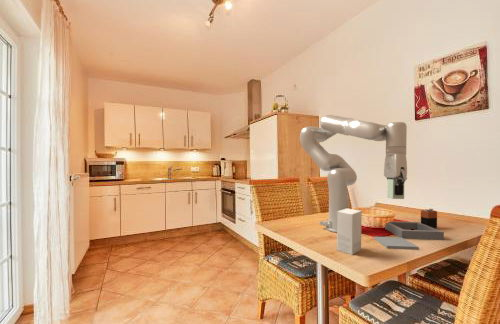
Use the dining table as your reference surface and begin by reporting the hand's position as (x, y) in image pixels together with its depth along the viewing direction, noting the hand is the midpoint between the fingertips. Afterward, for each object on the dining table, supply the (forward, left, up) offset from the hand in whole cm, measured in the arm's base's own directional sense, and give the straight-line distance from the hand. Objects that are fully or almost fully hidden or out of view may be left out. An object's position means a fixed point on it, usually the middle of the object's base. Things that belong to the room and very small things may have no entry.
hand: (395, 193), depth 100 cm
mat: (0, 0, -21) cm, 21 cm away
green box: (0, 0, -2) cm, 2 cm away
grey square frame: (+16, +17, -21) cm, 31 cm away
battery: (+32, +29, -22) cm, 48 cm away
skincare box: (-22, -10, -22) cm, 33 cm away
